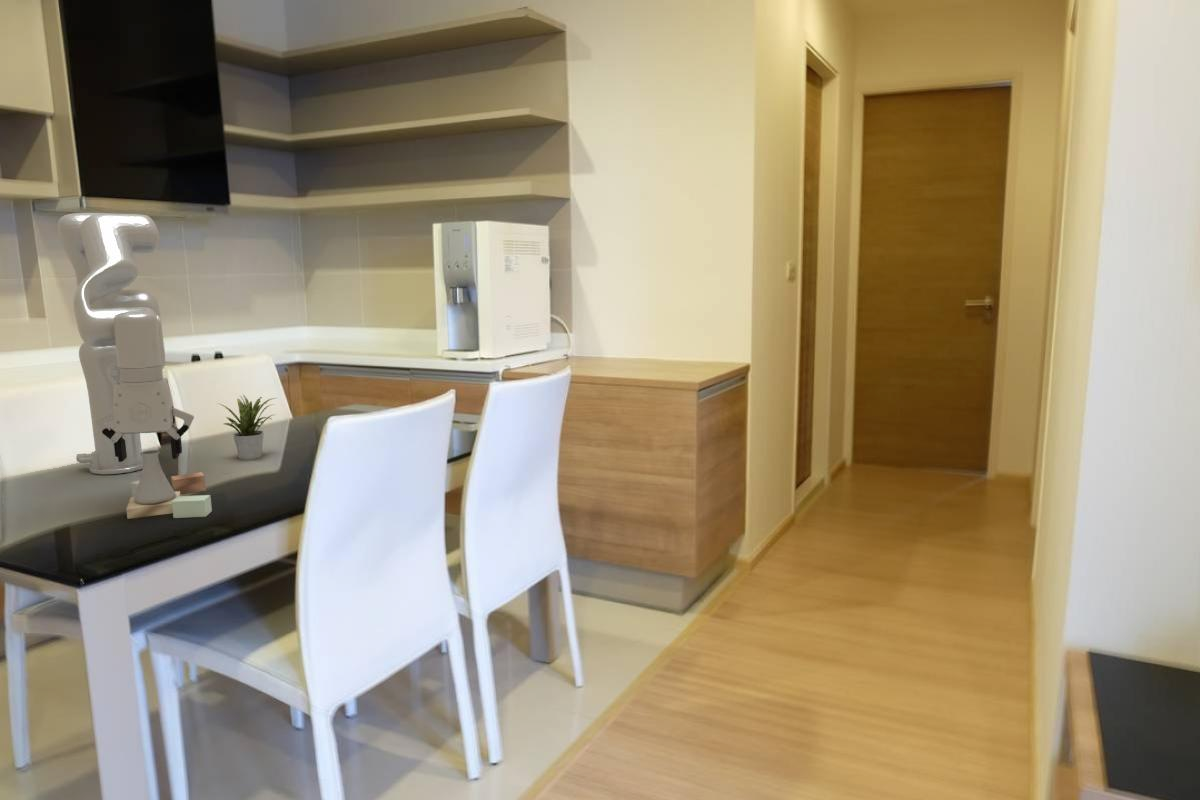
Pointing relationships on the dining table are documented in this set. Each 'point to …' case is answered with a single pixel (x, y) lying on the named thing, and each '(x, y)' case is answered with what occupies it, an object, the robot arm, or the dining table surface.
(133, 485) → the grey brick
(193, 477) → the cherry brick
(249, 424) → the house plant
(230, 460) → the dining table surface
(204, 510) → the sage brick
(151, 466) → the flask
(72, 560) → the dining table surface
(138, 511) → the oak block
